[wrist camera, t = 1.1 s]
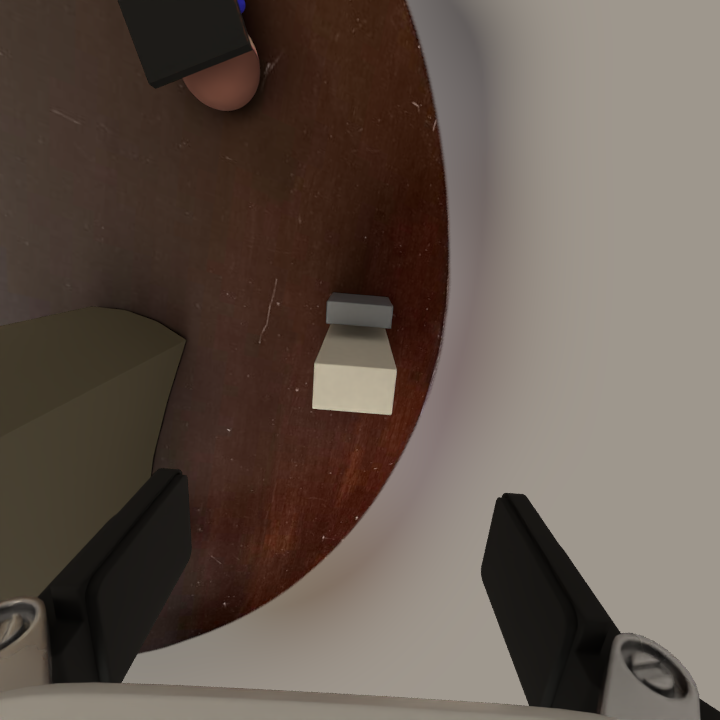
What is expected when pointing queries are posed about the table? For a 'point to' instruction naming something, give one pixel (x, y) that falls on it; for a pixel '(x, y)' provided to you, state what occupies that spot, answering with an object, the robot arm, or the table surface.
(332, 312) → the grey rectangular blocks
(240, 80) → the figurine character
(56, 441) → the book
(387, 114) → the table surface
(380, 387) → the beige rectangular block
